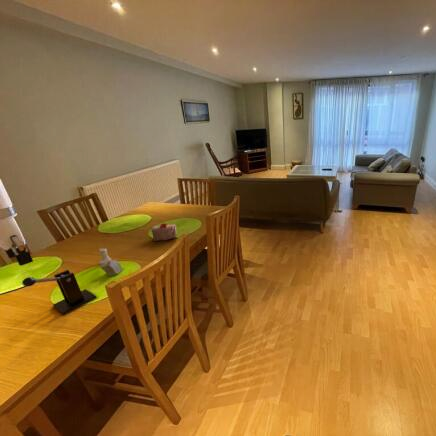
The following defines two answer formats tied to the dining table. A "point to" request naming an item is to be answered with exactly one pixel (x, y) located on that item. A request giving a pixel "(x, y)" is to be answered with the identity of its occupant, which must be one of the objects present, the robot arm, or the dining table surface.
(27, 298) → the dining table surface
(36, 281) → the switch lever
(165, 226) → the food item
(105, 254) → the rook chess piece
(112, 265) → the mineral specimen
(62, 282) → the stand
